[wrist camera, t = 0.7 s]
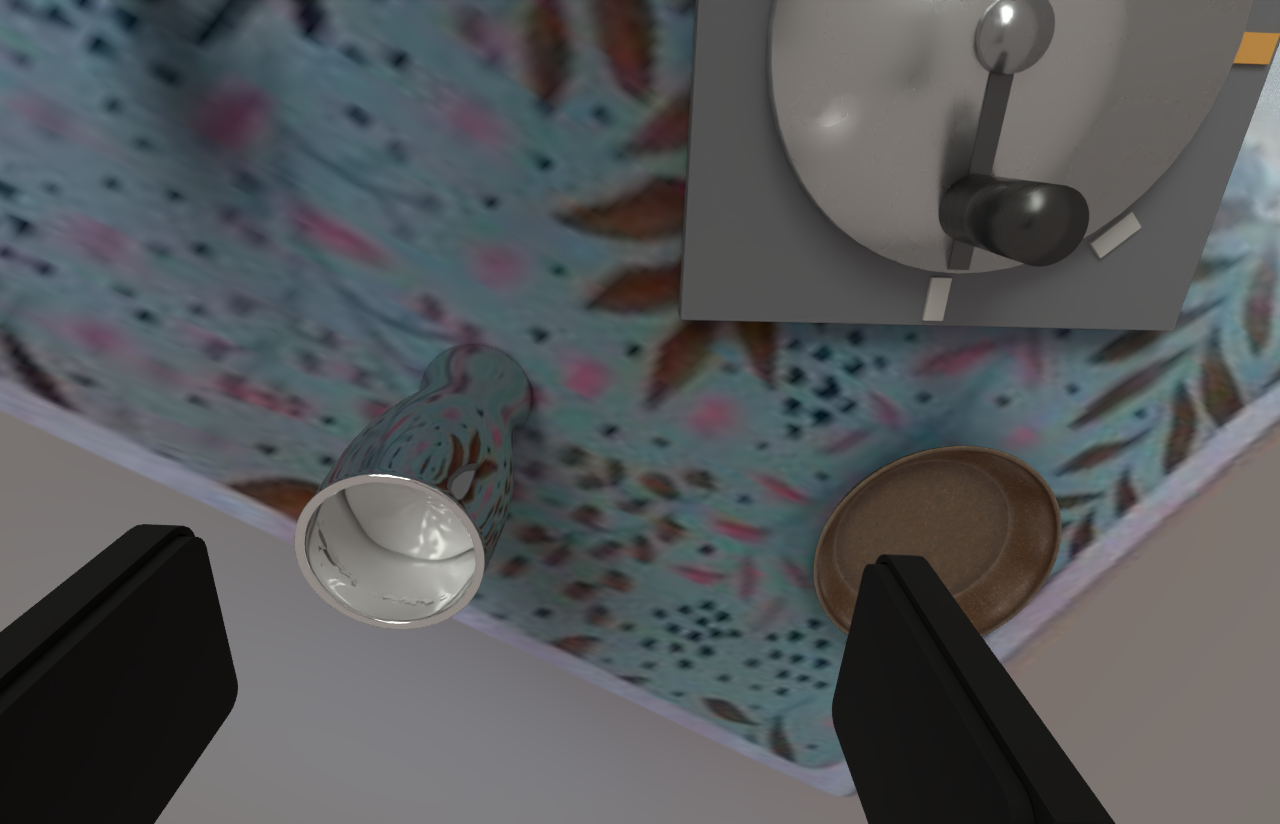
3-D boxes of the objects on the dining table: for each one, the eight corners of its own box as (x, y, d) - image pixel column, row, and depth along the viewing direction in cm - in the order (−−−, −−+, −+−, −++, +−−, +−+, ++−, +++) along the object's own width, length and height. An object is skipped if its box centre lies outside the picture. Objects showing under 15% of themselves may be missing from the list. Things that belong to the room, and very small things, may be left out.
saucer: (1042, 404, 38) (1071, 424, 35) (1033, 602, 44) (1058, 631, 41) (789, 454, 39) (800, 476, 36) (814, 642, 45) (825, 672, 42)
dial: (796, -282, 24) (861, -435, 18) (1318, -254, 25) (1570, -392, 18) (745, 263, 32) (777, 298, 26) (1141, 273, 33) (1271, 310, 26)
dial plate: (715, -366, 24) (721, -400, 23) (1381, -328, 25) (1431, -358, 24) (678, 312, 35) (681, 320, 33) (1152, 322, 36) (1176, 331, 34)
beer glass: (394, 415, 37) (259, 587, 23) (445, 311, 35) (328, 433, 21) (506, 469, 38) (442, 660, 25) (561, 373, 36) (524, 525, 22)
